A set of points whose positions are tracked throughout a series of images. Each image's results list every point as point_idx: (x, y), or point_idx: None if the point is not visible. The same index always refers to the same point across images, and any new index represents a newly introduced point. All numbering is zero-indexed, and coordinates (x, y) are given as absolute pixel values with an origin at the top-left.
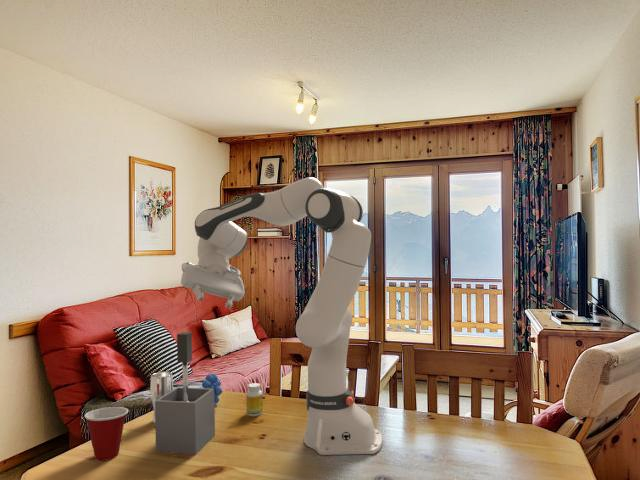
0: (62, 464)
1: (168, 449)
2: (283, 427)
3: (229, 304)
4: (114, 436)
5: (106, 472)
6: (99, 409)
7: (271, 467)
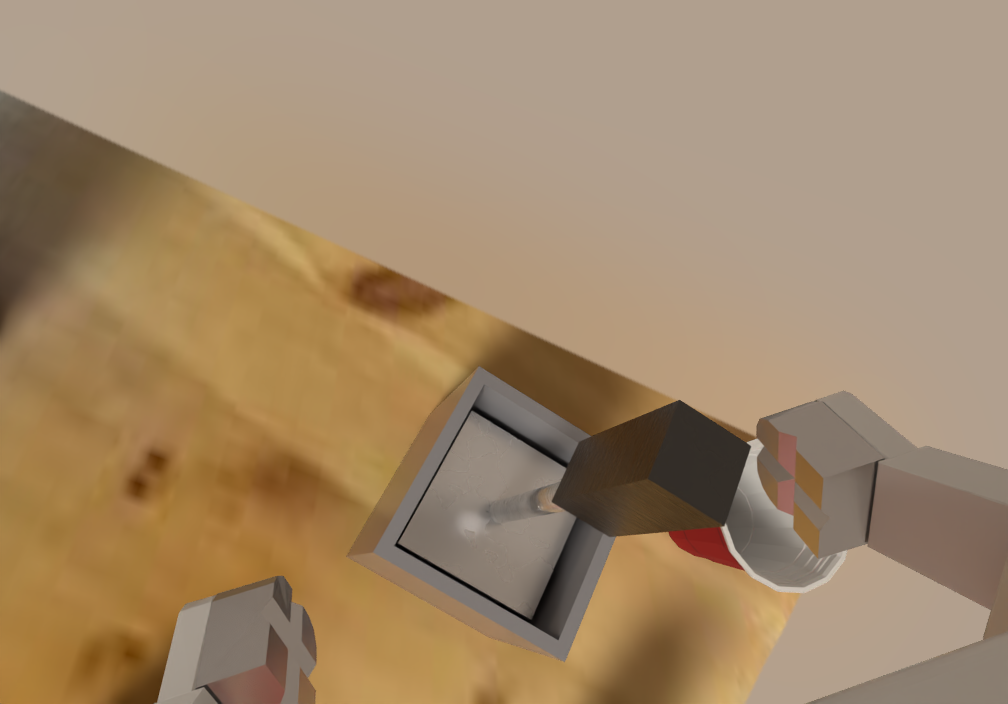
0: None
1: None
2: (10, 534)
3: (248, 587)
4: None
5: None
6: (824, 576)
7: (201, 225)
